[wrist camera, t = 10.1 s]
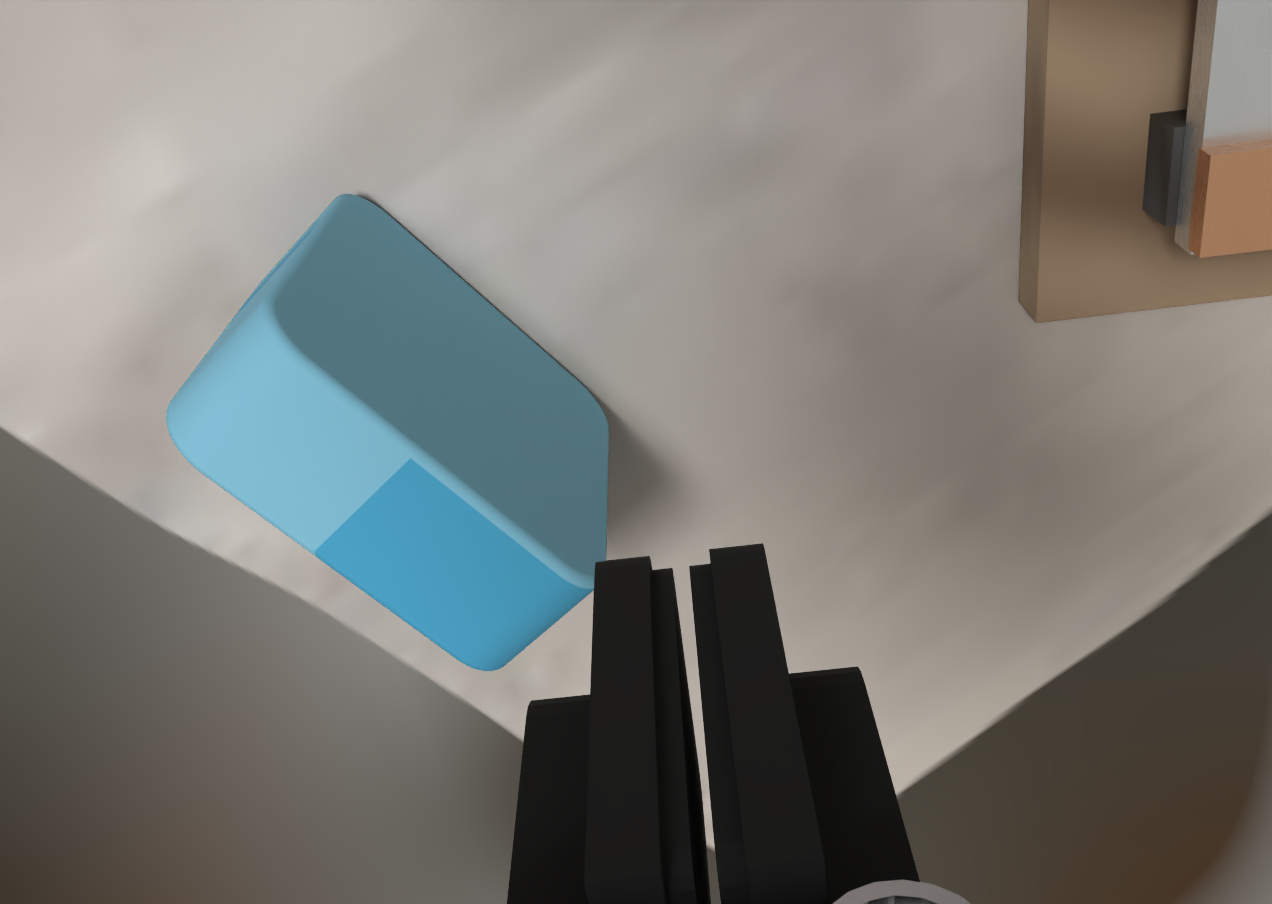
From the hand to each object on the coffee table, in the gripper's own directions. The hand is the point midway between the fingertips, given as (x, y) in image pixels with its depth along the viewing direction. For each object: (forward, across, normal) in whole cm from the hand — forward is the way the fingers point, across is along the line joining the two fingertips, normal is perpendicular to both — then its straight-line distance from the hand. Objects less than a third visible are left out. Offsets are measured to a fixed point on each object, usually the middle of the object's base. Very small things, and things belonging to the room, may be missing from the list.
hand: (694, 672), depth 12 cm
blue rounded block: (+29, +8, +8) cm, 32 cm away
